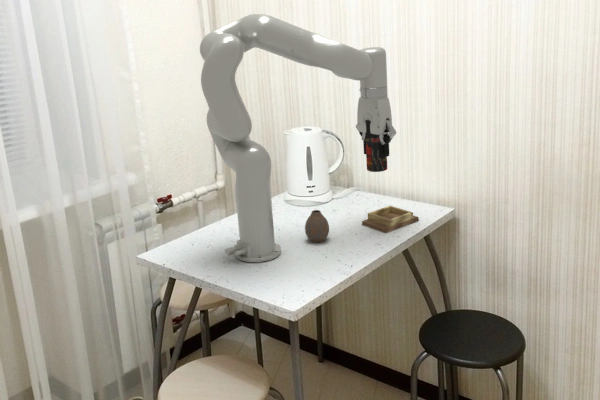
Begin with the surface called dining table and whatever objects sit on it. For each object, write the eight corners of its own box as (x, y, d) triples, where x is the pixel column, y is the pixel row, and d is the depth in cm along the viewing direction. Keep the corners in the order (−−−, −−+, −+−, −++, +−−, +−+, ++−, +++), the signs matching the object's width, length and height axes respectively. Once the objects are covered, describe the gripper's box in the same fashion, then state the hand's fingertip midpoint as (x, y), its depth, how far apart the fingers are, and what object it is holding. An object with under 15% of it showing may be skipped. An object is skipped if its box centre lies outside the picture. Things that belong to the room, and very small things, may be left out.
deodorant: (388, 171, 189) (386, 119, 184) (367, 172, 189) (365, 121, 184) (386, 165, 194) (384, 115, 190) (366, 166, 195) (363, 116, 190)
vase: (327, 244, 186) (326, 215, 183) (303, 244, 188) (301, 215, 185) (331, 235, 193) (329, 207, 190) (308, 235, 194) (306, 207, 191)
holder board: (385, 233, 192) (385, 222, 191) (362, 224, 199) (361, 214, 198) (418, 220, 200) (418, 210, 199) (394, 213, 207) (394, 203, 206)
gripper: (343, 92, 189) (346, 153, 195) (386, 97, 176) (388, 162, 182) (362, 88, 193) (365, 147, 199) (405, 93, 180) (407, 156, 186)
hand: (376, 154), depth 190 cm, fingers closed on deodorant, 5 cm apart
